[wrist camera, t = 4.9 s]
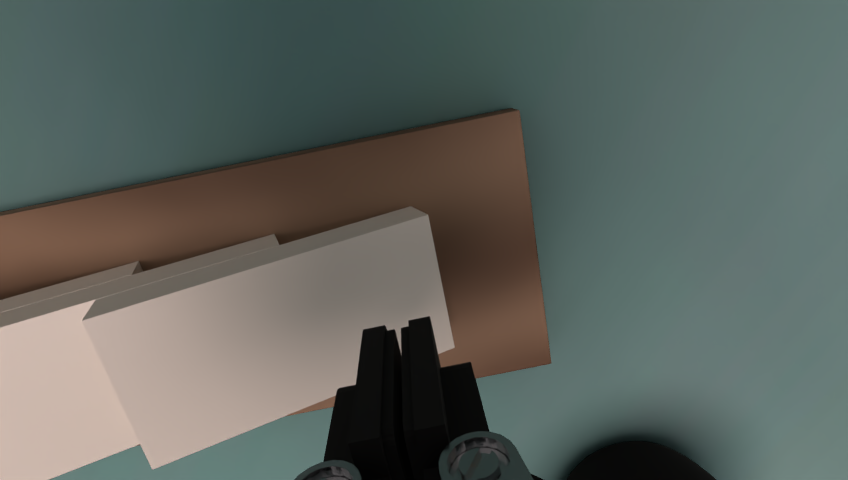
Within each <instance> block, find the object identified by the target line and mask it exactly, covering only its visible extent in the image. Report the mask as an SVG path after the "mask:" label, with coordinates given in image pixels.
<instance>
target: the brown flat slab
mask: <svg viewBox="0 0 848 480" xmlns="http://www.w3.org/2000/svg"><path fill="white" fill-rule="evenodd" d="M410 206H411V207H413V208H415V209H418V210H420V211H422V212H424V213H426V214H428V217H429V222H430V227H431V232H432V237H433V242H434V247H435V252H436V257H437V262H438V267H439V272H440V277H441V282H442V287H443V292H444V296H445V301H446V306H447V311H448V316H449V321H450V326H451V331H452V336H453V341H454V346H455V348H452V349H450V350H447V351H445V352H442V353H440V354H438V356H439V360H440V365H441V367H446V366H451V365H456V364H461V363H466V362H471V364H472V368H473V372H474V375H475V378H480V377H485V376H490V375H495V374H501V373H506V372H511V371H516V370H521V369H526V368H531V367H536V366H541V365H546V364H551V357H550V349H549V341H548V333H547V325H546V317H545V310H544V302H543V294H542V286H541V278H540V270H539V262H538V254H537V246H536V238H535V230H534V222H533V214H532V206H531V198H530V190H529V183H528V175H527V167H526V159H525V151H524V143H523V135H522V127H521V119H520V111H519V110H517V109H513V108H509V109H504V110H499V111H494V112H490V113H485V114H480V115H475V116H470V117H465V118H460V119H455V120H450V121H445V122H440V123H436V124H431V125H426V126H421V127H416V128H411V129H406V130H401V131H396V132H391V133H386V134H382V135H377V136H372V137H367V138H362V139H357V140H352V141H347V142H342V143H337V144H332V145H328V146H323V147H318V148H313V149H308V150H303V151H298V152H293V153H288V154H283V155H278V156H274V157H269V158H264V159H259V160H254V161H249V162H244V163H239V164H234V165H229V166H224V167H220V168H215V169H210V170H205V171H200V172H195V173H190V174H185V175H180V176H175V177H170V178H166V179H161V180H156V181H151V182H146V183H141V184H136V185H131V186H126V187H121V188H116V189H111V190H107V191H102V192H97V193H92V194H87V195H82V196H77V197H72V198H67V199H62V200H57V201H53V202H48V203H43V204H38V205H33V206H28V207H23V208H18V209H13V210H8V211H3V212H0V300H3V299H6V298H10V297H13V296H17V295H20V294H24V293H27V292H31V291H34V290H38V289H41V288H45V287H48V286H52V285H56V284H59V283H63V282H66V281H70V280H73V279H77V278H80V277H84V276H87V275H91V274H94V273H98V272H102V271H105V270H109V269H112V268H116V267H119V266H123V265H126V264H130V263H133V262H137V261H139V263H140V265H141V268H142V270H143V272H144V271H147V270H151V269H154V268H158V267H161V266H165V265H168V264H171V263H175V262H178V261H182V260H185V259H189V258H192V257H196V256H199V255H203V254H206V253H209V252H213V251H216V250H220V249H223V248H227V247H230V246H234V245H237V244H241V243H244V242H247V241H251V240H254V239H258V238H261V237H265V236H268V235H272V234H275V236H276V239H277V241H278V243H279V245H282V244H285V243H288V242H292V241H295V240H299V239H302V238H305V237H309V236H312V235H315V234H319V233H322V232H325V231H329V230H332V229H336V228H339V227H342V226H346V225H349V224H352V223H356V222H359V221H362V220H366V219H369V218H373V217H376V216H379V215H383V214H386V213H389V212H393V211H396V210H400V209H403V208H406V207H410ZM335 397H336V396H333V397H331V398H328V399H326V400H324V401H321V402H319V403H316V404H314V405H311V406H309V407H306V408H304V409H301V410H299V411H296V412H294V413H291V414H289V415H294V414H299V413H304V412H309V411H314V410H319V409H324V408H329V407H334V403H335ZM289 415H286V416H289ZM139 445H140V444H139ZM136 446H137V445H136Z"/></svg>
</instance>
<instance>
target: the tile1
mask: <svg viewBox="0 0 848 480" xmlns="http://www.w3.org/2000/svg"><path fill="white" fill-rule="evenodd" d="M428 316H430V319H431V323H432V328H433V332H434V337H435V342H436V346H437V351H438V354H440V353H442V352H445V351H447V350H450V349H452V348H455V346H454V341H453V336H452V331H451V326H450V321H449V316H448V311H447V306H446V301H445V296H444V292H443V287H442V282H441V277H440V272H439V267H438V262H437V257H436V252H435V247H434V242H433V237H432V232H431V227H430V222H429V217H428V214H426V213H424V212H422V211H420V210H418V209H415V208H413V207H411V206H410V207H406V208H403V209H400V210H396V211H393V212H389V213H386V214H383V215H379V216H376V217H373V218H369V219H366V220H362V221H359V222H356V223H352V224H349V225H346V226H342V227H339V228H336V229H332V230H329V231H325V232H322V233H319V234H315V235H312V236H309V237H305V238H302V239H299V240H295V241H292V242H288V243H285V244H282V245H278V246H275V247H272V248H268V249H265V250H261V251H258V252H255V253H251V254H248V255H245V256H241V257H238V258H235V259H231V260H228V261H224V262H221V263H218V264H214V265H211V266H208V267H204V268H201V269H197V270H194V271H191V272H187V273H184V274H181V275H177V276H174V277H171V278H167V279H164V280H160V281H157V282H154V283H150V284H147V285H144V286H140V287H137V288H134V289H130V290H127V291H123V292H120V293H117V294H113V295H110V296H107V297H103V298H100V299H96V300H95V301H94V303H93V304H92V306H91V307H90V309H89V310H88V312H87V313H86V315H85V316H84V318H83V319H82V323H83V325H84V327H85V329H86V331H87V333H88V335H89V338H90V340H91V342H92V344H93V346H94V348H95V350H96V352H97V354H98V356H99V359H100V361H101V363H102V365H103V367H104V369H105V371H106V373H107V375H108V377H109V380H110V382H111V384H112V386H113V388H114V390H115V392H116V394H117V396H118V398H119V401H120V403H121V405H122V407H123V409H124V411H125V413H126V415H127V417H128V419H129V422H130V424H131V426H132V428H133V430H134V432H135V434H136V436H137V438H138V440H139V443H140V445H141V447H142V449H143V451H144V453H145V455H146V457H147V459H148V461H149V464H150V466H151V468H152V470H153V469H155V468H158V467H160V466H163V465H165V464H167V463H170V462H172V461H175V460H177V459H180V458H182V457H185V456H187V455H190V454H192V453H195V452H197V451H200V450H202V449H205V448H207V447H210V446H212V445H215V444H217V443H220V442H222V441H224V440H227V439H229V438H232V437H234V436H237V435H239V434H242V433H244V432H247V431H249V430H252V429H254V428H257V427H259V426H262V425H264V424H267V423H269V422H272V421H274V420H276V419H279V418H281V417H284V416H286V415H289V414H291V413H294V412H296V411H299V410H301V409H304V408H306V407H309V406H311V405H314V404H316V403H319V402H321V401H324V400H326V399H328V398H331V397H333V396H336V393H337V389H339V388H341V387H346V386H351V385H356V378H357V371H358V363H359V355H360V347H361V340H362V332H363V329H368V328H373V327H378V326H383V325H385V326H386V328H387V331H388V330H393V329H395V332H396V335H397V339H398V344H399V348H400V352H401V328H403V327H407V326H408V320H413V319H418V318H423V317H428Z"/></svg>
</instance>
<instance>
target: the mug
mask: <svg viewBox="0 0 848 480" xmlns="http://www.w3.org/2000/svg"><path fill="white" fill-rule="evenodd" d="M567 480H716V479H715V478H714V477H712V476H711V475H710V474H709V473H708V472H707V471H705V470H704V469H703V468H701V467H700V466H699V465H698V464H696V463H695V462H693V461H692V460H690V459H689V458H687V457H686V456H684V455H682V454H680V453H678V452H676V451H675V450H673V449H670V448H668V447H665V446H663V445H659V444H656V443H651V442H644V441H631V442H623V443H618V444H614V445H610V446H608V447H605V448H602V449H600V450H598V451H596V452H595V453H593V454H591V455H590V456H588V457H587V458H585V459H584V460H583V461H582V462H581V463H580V464H579V465H578V466H577V467H576V468H575V469H574V470H573V471H572V472H571V474H570V475H569V477H568V478H567Z"/></svg>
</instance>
